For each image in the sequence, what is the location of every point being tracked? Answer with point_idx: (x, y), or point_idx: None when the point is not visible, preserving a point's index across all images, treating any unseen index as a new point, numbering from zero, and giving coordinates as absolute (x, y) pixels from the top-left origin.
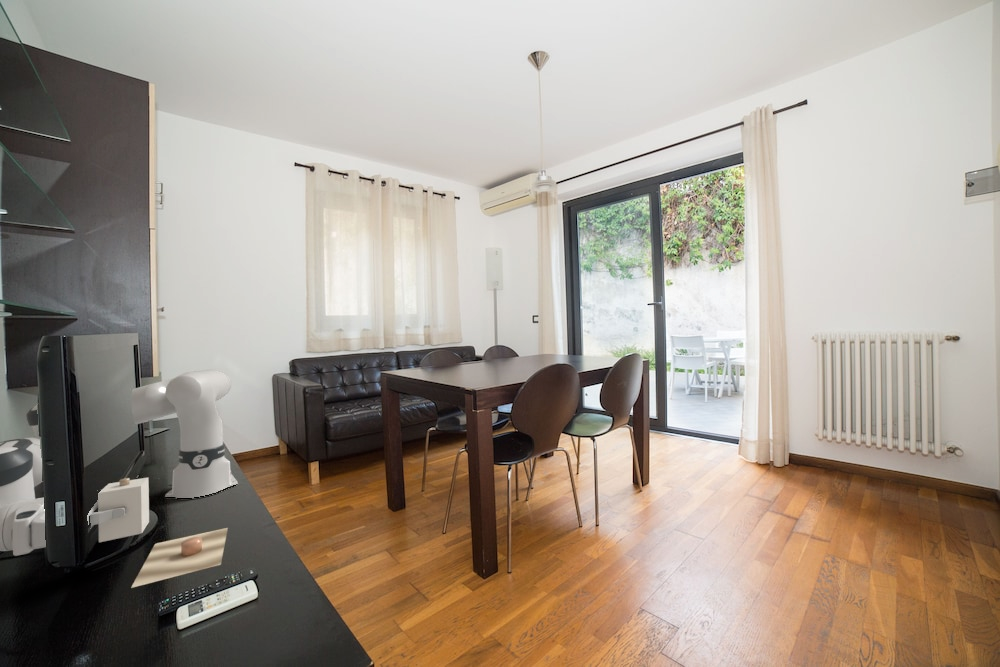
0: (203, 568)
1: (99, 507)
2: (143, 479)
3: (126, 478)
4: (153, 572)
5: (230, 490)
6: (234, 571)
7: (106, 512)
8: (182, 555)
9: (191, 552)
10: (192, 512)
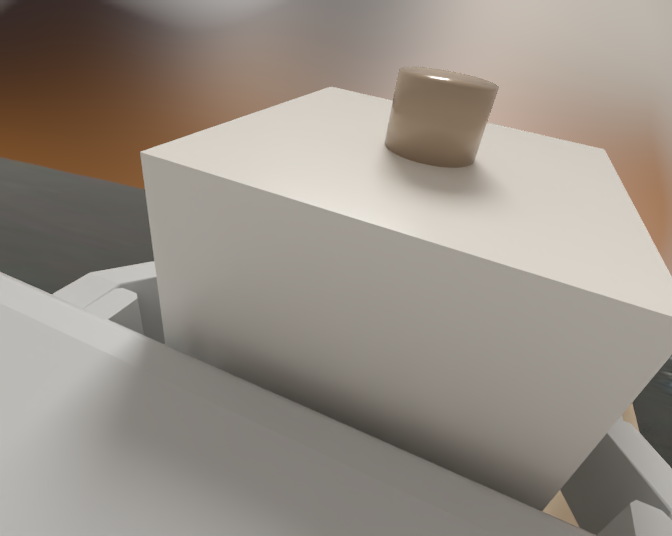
0: (628, 410)
1: (565, 478)
2: (367, 100)
3: (428, 71)
4: (562, 514)
5: (6, 178)
6: (659, 377)
7: (666, 473)
8: None
9: None
10: (38, 264)
